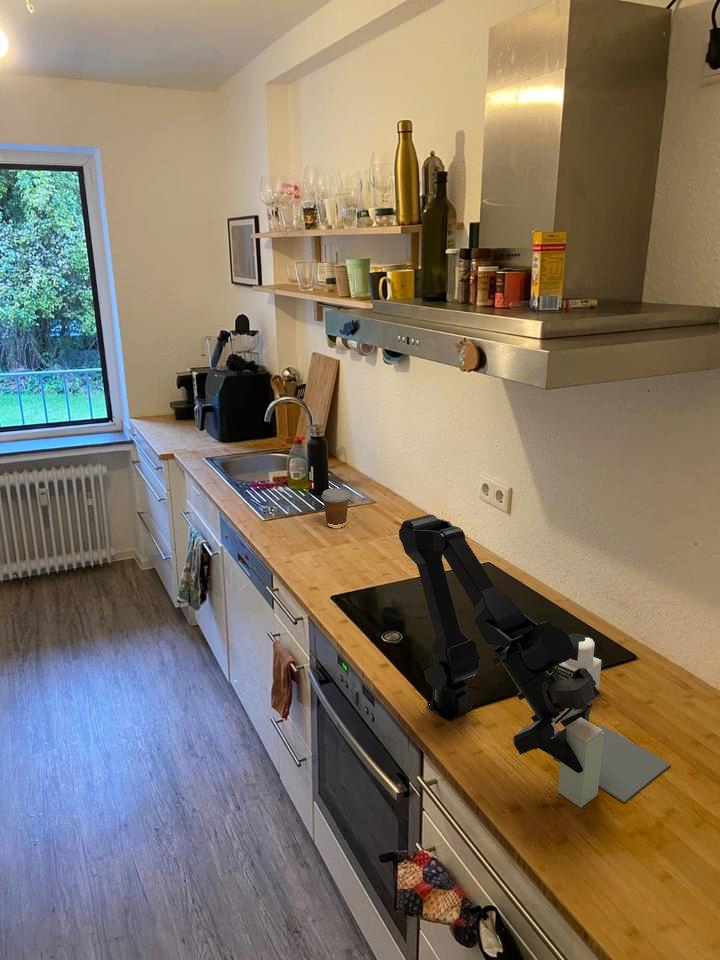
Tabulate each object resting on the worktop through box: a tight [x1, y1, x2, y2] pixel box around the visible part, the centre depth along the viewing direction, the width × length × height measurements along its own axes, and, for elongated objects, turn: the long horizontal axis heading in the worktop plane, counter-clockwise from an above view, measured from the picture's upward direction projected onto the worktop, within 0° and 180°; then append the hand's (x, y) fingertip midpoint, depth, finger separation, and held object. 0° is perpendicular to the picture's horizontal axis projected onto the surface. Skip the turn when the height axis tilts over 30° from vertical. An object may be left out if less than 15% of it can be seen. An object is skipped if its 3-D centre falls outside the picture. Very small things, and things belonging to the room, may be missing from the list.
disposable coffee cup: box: [321, 487, 351, 525], centre depth 234 cm, size 10×10×12 cm
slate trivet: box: [552, 724, 671, 804], centre depth 121 cm, size 14×14×1 cm
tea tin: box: [557, 717, 604, 808], centre depth 112 cm, size 4×4×13 cm
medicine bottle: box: [551, 633, 603, 691], centre depth 140 cm, size 7×7×12 cm
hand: (588, 764), depth 111 cm, fingers closed on tea tin, 5 cm apart
